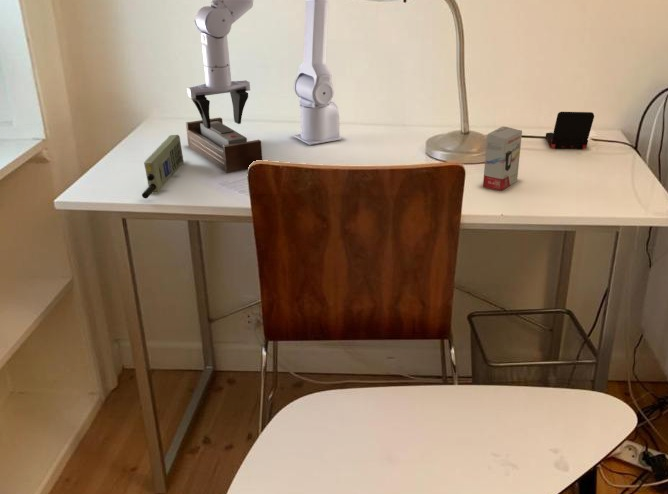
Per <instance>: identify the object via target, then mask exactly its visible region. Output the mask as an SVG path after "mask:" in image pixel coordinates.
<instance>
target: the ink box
mask: <svg viewBox="0 0 668 494" xmlns="http://www.w3.org/2000/svg"><path fill="white" fill-rule="evenodd" d="M522 135H523V130H521V129H517V128H512V127H508V126H500V127H498V128H497V129H495V130H492V131H490V132H489V133H487V135H486V145H485V155H484V156H485V158H484V169H483V180H482V181H483V182H482V187H483V188H486V189H490V190H496V191H500V192H501V191H502V192H503V191H505V190H506V189H507V188H508V187H510V186H511V185H513V184H514V183H516V182H518V175H519V167H520V166H519V165H520V158H521V157H520V156H521V146H522V137H523V136H522Z"/></svg>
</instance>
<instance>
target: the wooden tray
mask: <svg viewBox="0 0 668 494" xmlns="http://www.w3.org/2000/svg"><path fill="white" fill-rule="evenodd" d="M214 121H219V122H220V123H222V124H224V123H223V118H222V117H214V118H210V122H214ZM201 123H203V120H202V119H199V120H194V121H186V122H185V129H186V136H187V146H188V148H189V149H191V150H192V151H194V152H196V153H197V154H198V155H200V156H201V157H203V158H204V159H206V160H207V161H209V162H210V163H212V164H213V165H214V166H216V167H218V168H219V169H220V170H222V171H224V172H225V173H226V174H228V173H235V172H240V171H246V170H249V169H248V167H249V165H250V164H251V163H252V162H253V161H256V160H262V161H263V149H262V146H263V145H262V140H260V139H254V140H247V142H242V143H236V144H230V145H224V146H223V149H222V148H221V147H219V146H218V145H216V144H214V143H213V142H211V141H210V140H208V139H206V138H205V137H203V136H202V135H201V127H200V124H201Z"/></svg>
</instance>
